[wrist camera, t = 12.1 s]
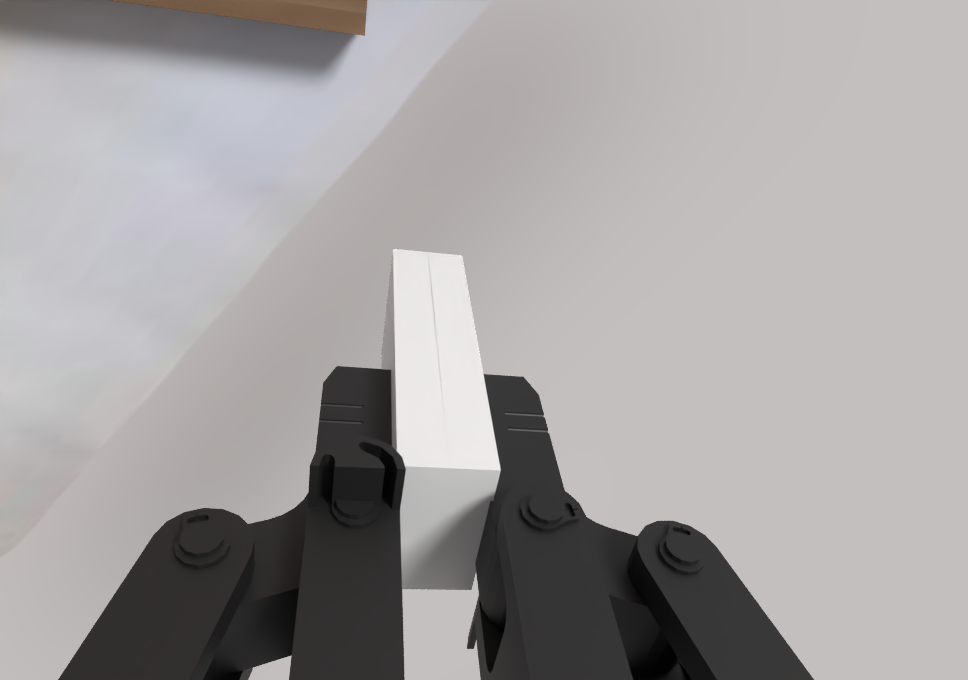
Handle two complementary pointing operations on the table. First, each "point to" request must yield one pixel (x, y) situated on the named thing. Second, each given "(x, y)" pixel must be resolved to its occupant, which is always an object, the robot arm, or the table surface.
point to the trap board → (280, 11)
